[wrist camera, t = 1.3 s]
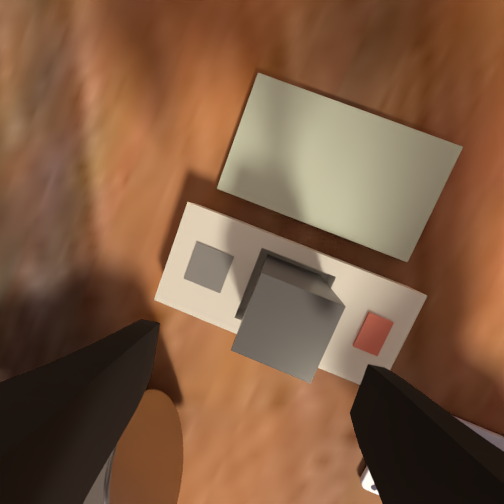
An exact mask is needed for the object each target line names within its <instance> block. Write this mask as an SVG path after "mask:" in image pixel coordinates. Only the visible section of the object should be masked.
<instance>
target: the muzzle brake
mask: <svg viewBox="0 0 504 504" xmlns="http://www.w3.org/2000/svg"><path fill="white" fill-rule="evenodd" d="M182 470H183V436H182V429H181V423H180V419H179V415H178V412H177V409H176V407H175V405H174V403H173V401H172V400H171V398H170V397H169V396H168V395H167V394H166V393H164V392H163V391H161V390H158V389H148V390H145V392H144V394H143V397H142V399H141V401H140V403H139V405H138V407H137V409H136V411H135V413H134V415H133V416H132V418H131V420H130V422H129V423H128V425H127V427H126V429H125V430H124V432H123V434H122V436H121V437H120V439H119V441H118V443H117V444H116V446H115V448H114V449H113V451H112V453H111V455H110V456H109V458H108V460H107V462H106V463H105V465H104V467H103V469H102V470H101V472H100V474H99V475H98V477H97V479H96V481H95V482H94V484H93V486H92V488H91V490H90V491H89V493H88V495H87V497H86V499H85V501H84V503H83V504H177V501H178V497H179V492H180V486H181V479H182Z"/></svg>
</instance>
